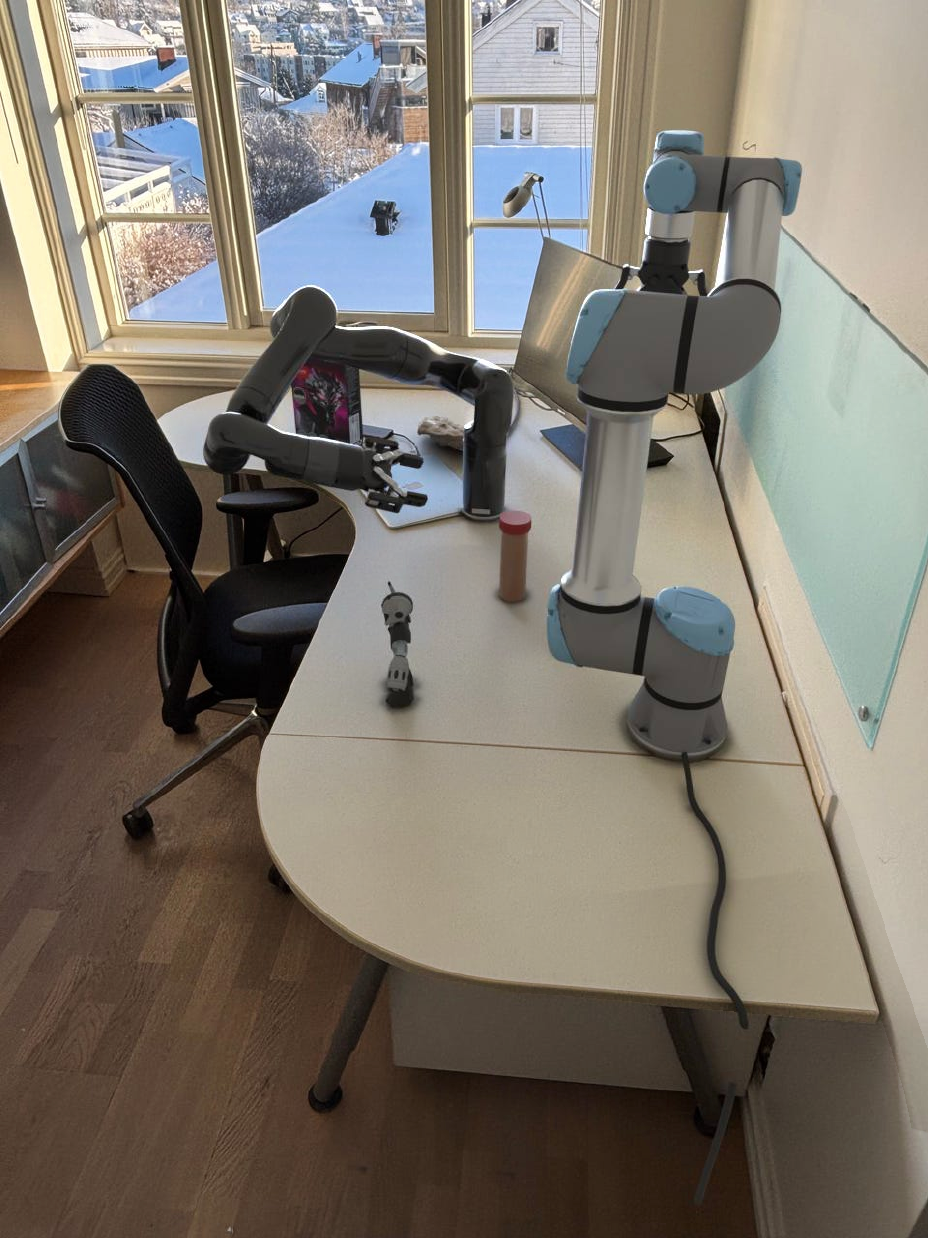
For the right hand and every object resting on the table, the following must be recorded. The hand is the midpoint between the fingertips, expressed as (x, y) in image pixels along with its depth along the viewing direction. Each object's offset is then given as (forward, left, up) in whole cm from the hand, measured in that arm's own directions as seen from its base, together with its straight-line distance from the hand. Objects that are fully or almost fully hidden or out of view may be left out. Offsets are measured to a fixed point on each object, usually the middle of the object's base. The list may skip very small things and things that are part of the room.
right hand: (652, 364), depth 163 cm
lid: (-18, +20, -24) cm, 36 cm away
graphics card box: (+38, +80, -41) cm, 97 cm away
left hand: (-28, +34, -14) cm, 46 cm away
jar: (-18, +20, -41) cm, 49 cm away
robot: (-52, +31, -41) cm, 73 cm away
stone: (+47, +50, -41) cm, 79 cm away
